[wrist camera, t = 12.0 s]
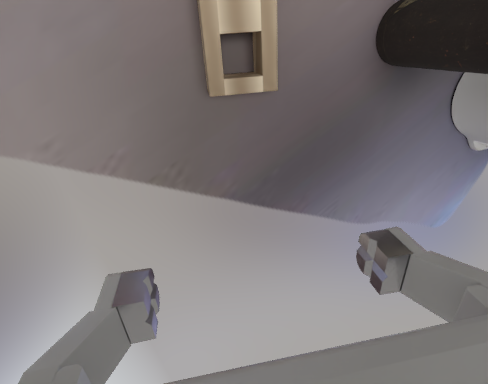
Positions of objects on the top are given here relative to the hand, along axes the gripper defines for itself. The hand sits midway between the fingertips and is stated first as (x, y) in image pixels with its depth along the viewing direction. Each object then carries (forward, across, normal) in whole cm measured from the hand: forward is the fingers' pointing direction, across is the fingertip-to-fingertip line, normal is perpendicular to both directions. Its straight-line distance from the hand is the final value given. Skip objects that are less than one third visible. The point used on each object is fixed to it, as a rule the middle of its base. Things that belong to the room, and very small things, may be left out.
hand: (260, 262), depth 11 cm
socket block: (+31, -4, -10) cm, 33 cm away
